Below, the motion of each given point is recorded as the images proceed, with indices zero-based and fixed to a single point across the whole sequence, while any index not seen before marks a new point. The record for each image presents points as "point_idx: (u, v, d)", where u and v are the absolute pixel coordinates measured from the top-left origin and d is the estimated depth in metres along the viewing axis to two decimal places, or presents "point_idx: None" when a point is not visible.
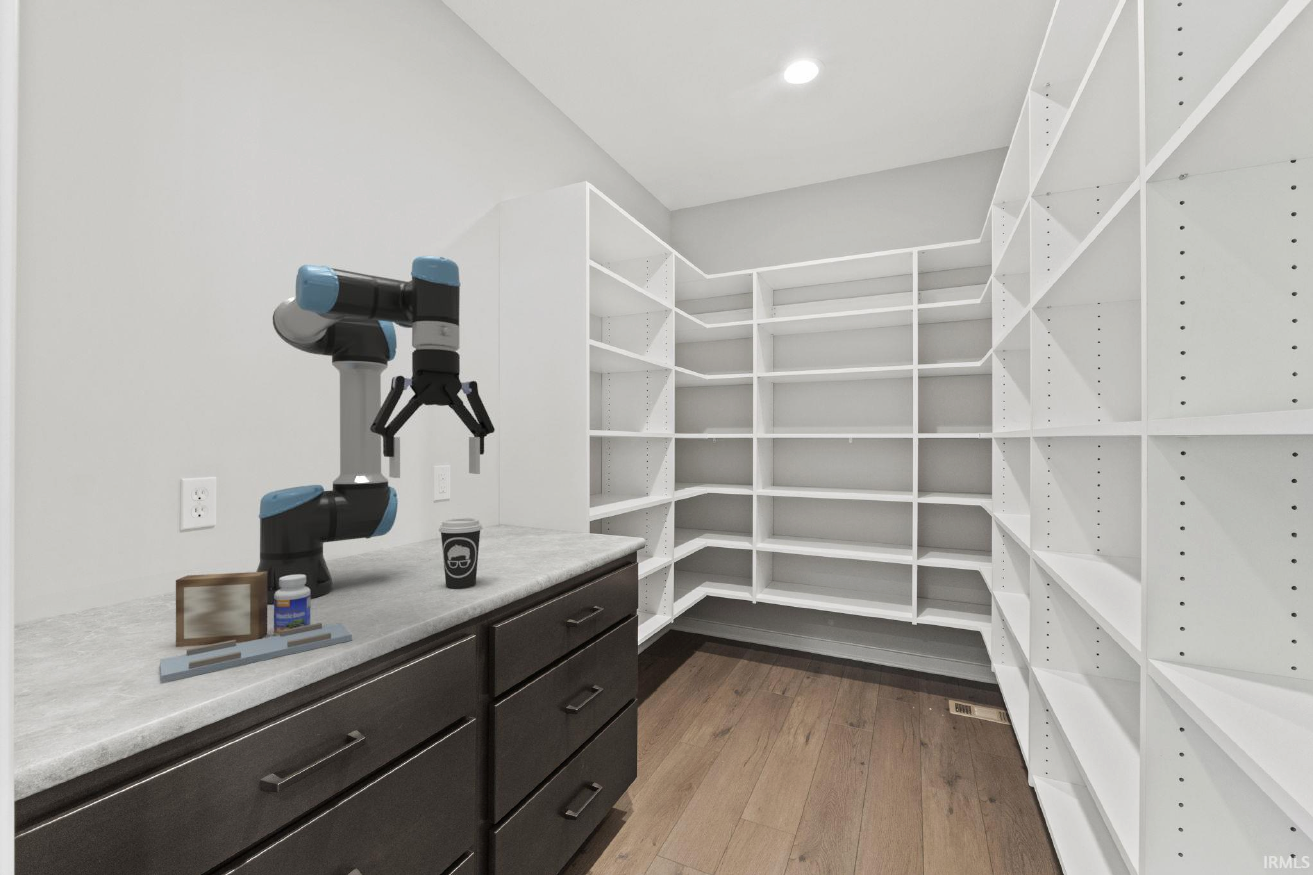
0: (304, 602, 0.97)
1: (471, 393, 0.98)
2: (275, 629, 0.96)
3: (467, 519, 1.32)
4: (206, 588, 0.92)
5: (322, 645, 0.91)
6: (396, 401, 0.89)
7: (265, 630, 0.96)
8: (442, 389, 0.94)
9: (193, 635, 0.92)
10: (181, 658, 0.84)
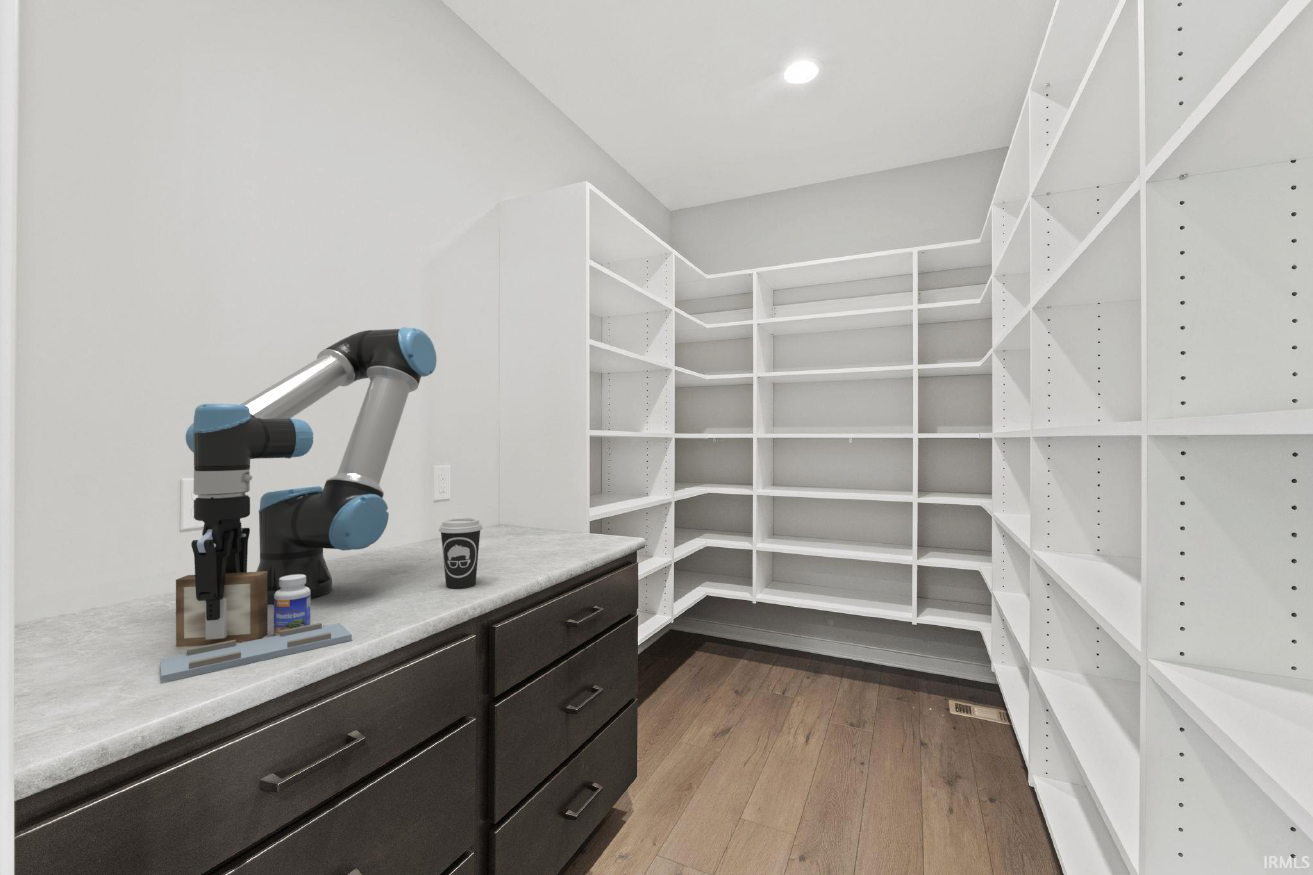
0: (304, 602, 0.97)
1: (243, 538, 0.99)
2: (275, 629, 0.96)
3: (467, 520, 1.32)
4: None
5: (322, 645, 0.91)
6: (215, 563, 0.90)
7: (265, 630, 0.96)
8: None
9: (193, 634, 0.92)
10: (181, 658, 0.84)
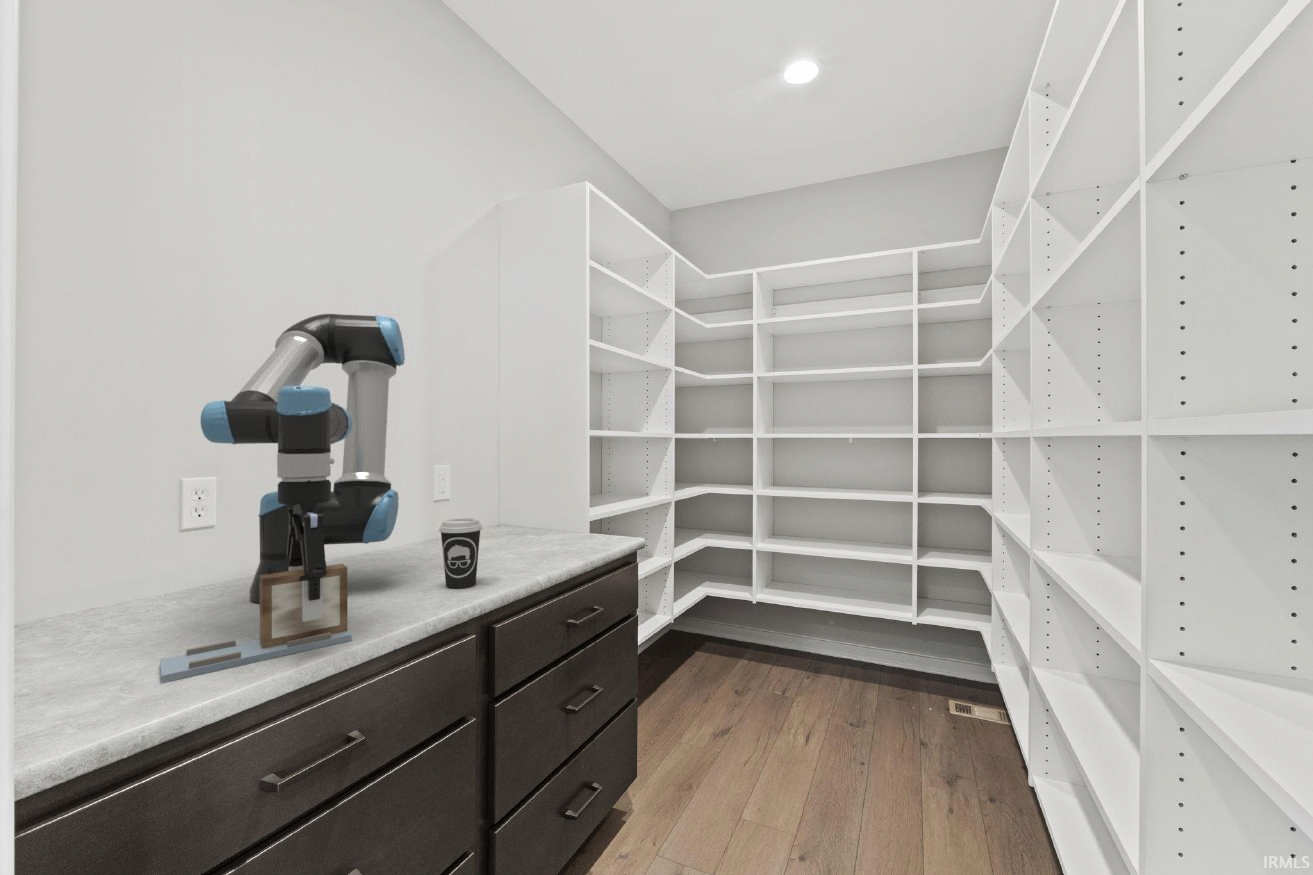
0: None
1: None
2: None
3: (467, 520, 1.32)
4: (295, 584, 0.91)
5: (322, 645, 0.91)
6: None
7: None
8: None
9: (282, 633, 0.89)
10: (181, 658, 0.84)
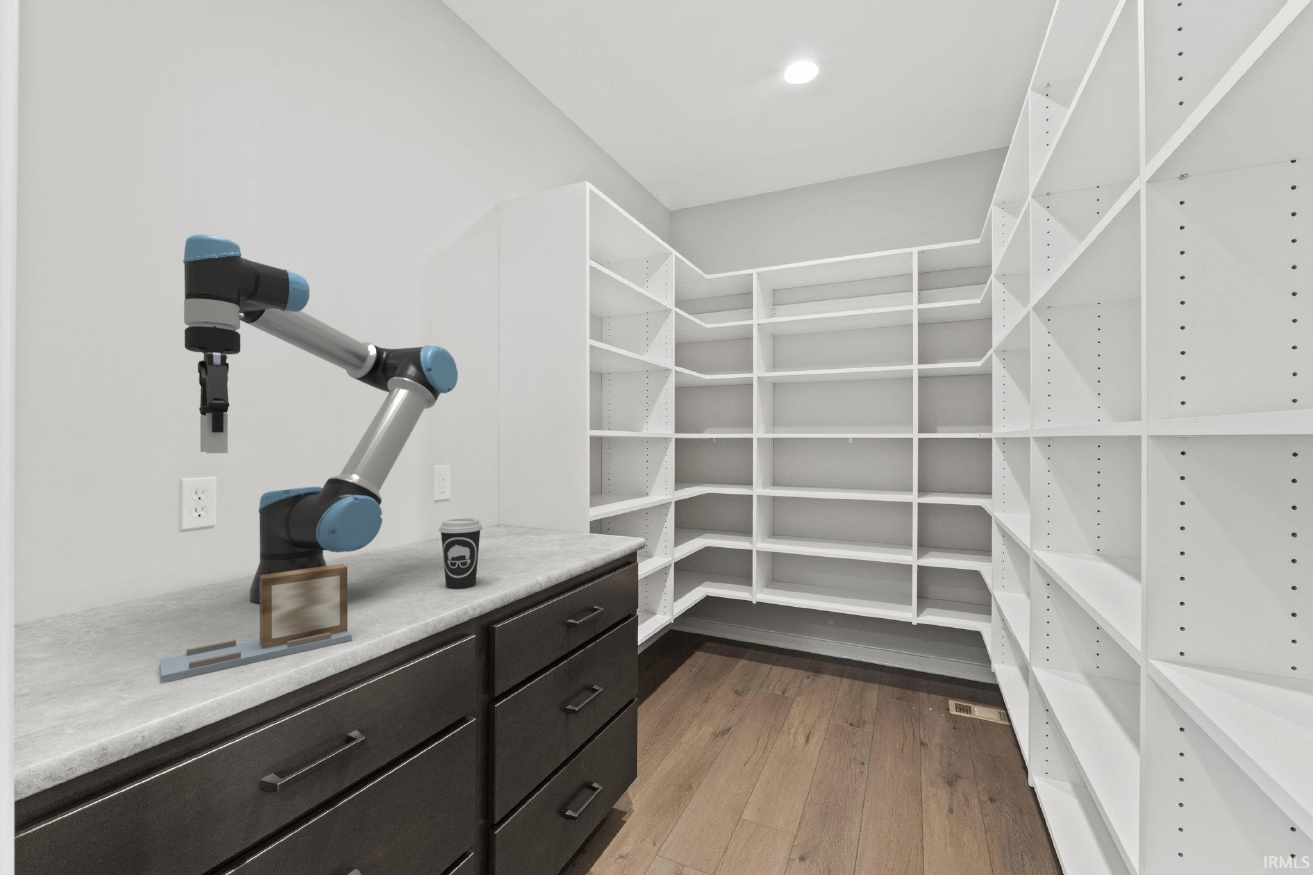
0: None
1: None
2: None
3: (467, 520, 1.32)
4: (295, 584, 0.91)
5: (322, 645, 0.91)
6: None
7: None
8: None
9: (282, 633, 0.89)
10: (181, 658, 0.84)
